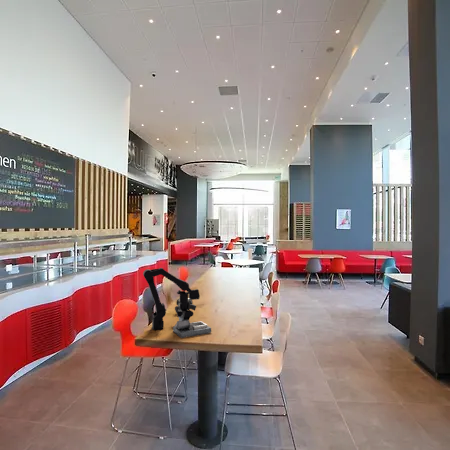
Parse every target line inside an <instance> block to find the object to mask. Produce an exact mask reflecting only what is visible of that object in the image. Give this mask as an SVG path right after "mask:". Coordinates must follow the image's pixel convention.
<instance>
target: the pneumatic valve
mask: <svg viewBox="0 0 450 450" xmlns="http://www.w3.org/2000/svg"><path fill="white" fill-rule="evenodd" d="M179 301H180V297H179V298H178V299H176V302H175V303H176V306H180V304H179ZM188 302H192V304H193V300H190V298H189V297H188Z"/></svg>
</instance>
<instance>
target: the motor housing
mask: <svg viewBox="0 0 450 450" xmlns="http://www.w3.org/2000/svg"><path fill="white" fill-rule="evenodd" d="M172 328H173V329H172V332H173V333H174V334H176V335H177V336H178V337H179V338H180V339H184V338H189V337H195V336H199V335H201V336H202V335H205V334H206V335H207V334H211V333H212V327H211V326H209V325H208V324H207V323H205V322H203V321H202V320H201V321H194V322H193V321H192V322H191V321H190V319H189V320H183V321H179V320H177V321H176V323H175V325H174V326H172Z"/></svg>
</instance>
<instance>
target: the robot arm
mask: <svg viewBox="0 0 450 450" xmlns="http://www.w3.org/2000/svg"><path fill="white" fill-rule="evenodd" d="M142 275H143V278H144V279H145V281H146V283H147V285H148V287H149V291H150V293H151V297H152V299H153V303H154V307H155V308H154V309H155V311H154V313H152V321H151V324H152V325H151V329H152V330H153V331H159V330H164V326H165V324H164V323H165V322H164V317H165V316H166V315H167V309H166V306H165V303H164V302H163V303H162V302H161V299H160V297H159V294H158V291H157V287H156V285H155V279H154V277H158V276H163V277H164V278H166V279H168V280H169V281H171V282H173V283H174V284H175V285H176V286H177V287H178V288H179V289H180V290H178V291H176V294H177V295H179V298H180V301H179V304H180V306H178V305H176V306H175V307H174V311H175V313H176V315H177V318H178V319H179V317H180V316H181V315H183V319H184V320H189V321H190V318H191V317H194V312H193V311H196V309H197V305H195V304H193V303H192V302H193V300H194V301H195V300H200V297H201V295H200V290H199V289H198V288H195V289H191V288H190V285H189V283H188V282H187V281H186V280H183V279H180V278H177V277H176V276H174V275H173V274H171V273H170V272H168V271H167V270H165V269H164V268H163V267H159V268H154V269H149V268H148V269H145V270H144V271H143V273H142ZM188 298H190V300H192V302H188Z"/></svg>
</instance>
